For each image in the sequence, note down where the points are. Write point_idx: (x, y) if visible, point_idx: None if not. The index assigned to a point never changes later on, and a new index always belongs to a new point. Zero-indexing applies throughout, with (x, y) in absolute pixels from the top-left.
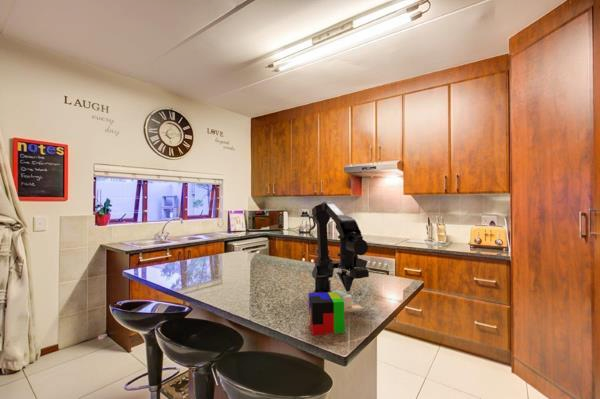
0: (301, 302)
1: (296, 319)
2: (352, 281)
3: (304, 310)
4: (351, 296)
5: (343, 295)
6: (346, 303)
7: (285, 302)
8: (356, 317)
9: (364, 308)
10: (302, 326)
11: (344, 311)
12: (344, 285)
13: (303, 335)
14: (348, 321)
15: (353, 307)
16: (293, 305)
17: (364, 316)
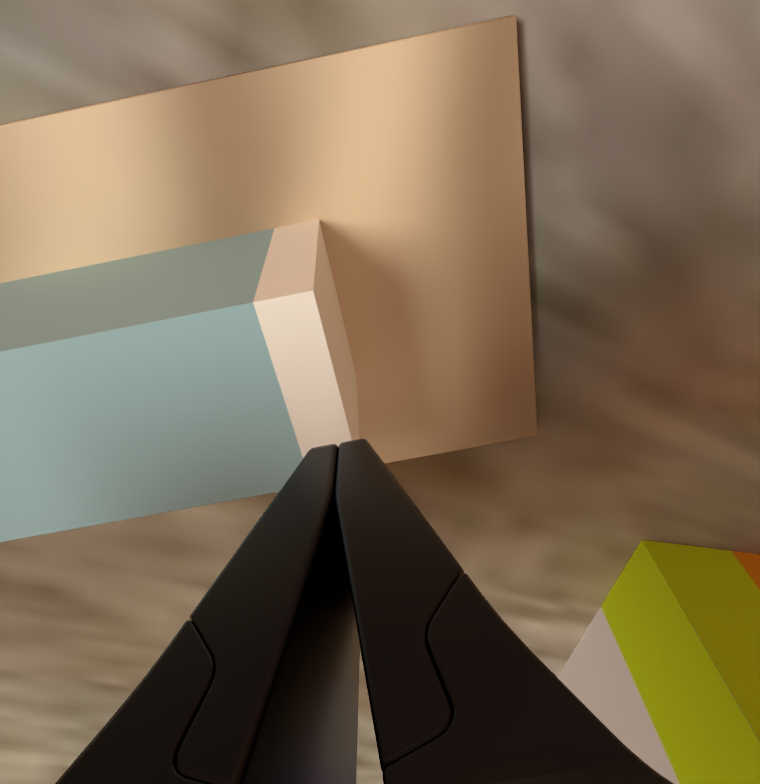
0: (15, 689)
1: None
2: (520, 650)
3: None
4: (313, 296)
5: (231, 435)
6: (344, 357)
7: (9, 780)
8: (690, 331)
9: (506, 42)
10: None
11: (479, 412)
12: (351, 673)
13: None
14: (723, 458)
15: (383, 223)
16: None
17: (733, 209)
